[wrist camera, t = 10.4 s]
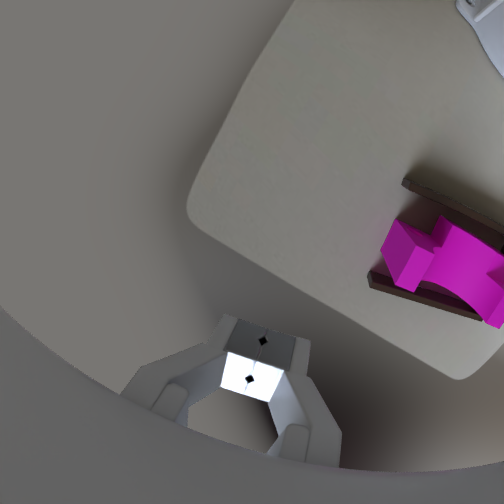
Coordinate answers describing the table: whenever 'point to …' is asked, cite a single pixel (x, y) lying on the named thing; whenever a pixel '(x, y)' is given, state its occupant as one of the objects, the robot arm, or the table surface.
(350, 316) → the table surface
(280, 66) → the table surface
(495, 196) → the table surface
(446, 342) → the table surface
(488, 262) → the toy block
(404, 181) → the bay
